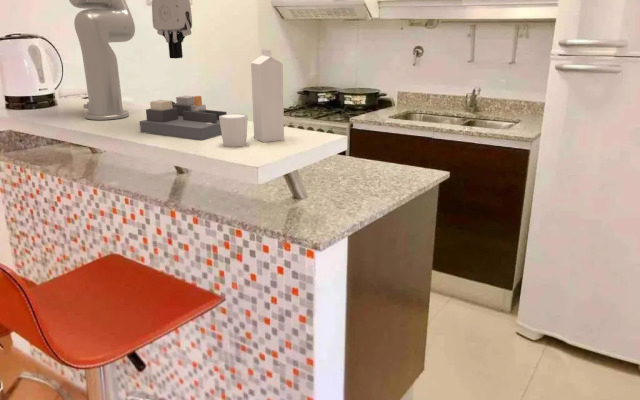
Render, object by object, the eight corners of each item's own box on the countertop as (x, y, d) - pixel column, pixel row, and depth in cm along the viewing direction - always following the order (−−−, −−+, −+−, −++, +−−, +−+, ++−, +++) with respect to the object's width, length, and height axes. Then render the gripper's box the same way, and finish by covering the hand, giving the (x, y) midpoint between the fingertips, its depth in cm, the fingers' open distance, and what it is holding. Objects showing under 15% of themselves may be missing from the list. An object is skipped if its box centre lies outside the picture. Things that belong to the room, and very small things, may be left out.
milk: (275, 135, 140) (273, 48, 133) (284, 140, 135) (283, 49, 128) (253, 137, 137) (250, 49, 130) (261, 142, 132) (259, 50, 125)
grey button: (177, 109, 152) (176, 97, 151) (186, 107, 155) (185, 95, 154) (187, 110, 150) (187, 98, 149) (197, 108, 153) (196, 96, 152)
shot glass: (251, 141, 133) (250, 113, 131) (245, 147, 127) (244, 118, 125) (224, 140, 134) (223, 113, 132) (217, 147, 127) (215, 117, 125)
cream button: (151, 114, 143) (149, 101, 142) (161, 112, 147) (160, 99, 146) (162, 116, 142) (161, 102, 141) (173, 113, 145) (171, 100, 144)
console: (140, 132, 144) (138, 110, 142) (188, 121, 160) (186, 100, 158) (201, 140, 134) (199, 116, 132) (245, 127, 150) (244, 106, 148)
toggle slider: (191, 119, 144) (190, 96, 142) (199, 117, 147) (197, 95, 145) (199, 119, 143) (197, 97, 141) (206, 118, 146) (205, 95, 144)
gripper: (137, -16, 137) (145, 58, 143) (182, -18, 130) (188, 59, 136) (158, -15, 143) (165, 56, 149) (202, -16, 137) (207, 58, 143)
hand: (176, 57), depth 143 cm, fingers closed
